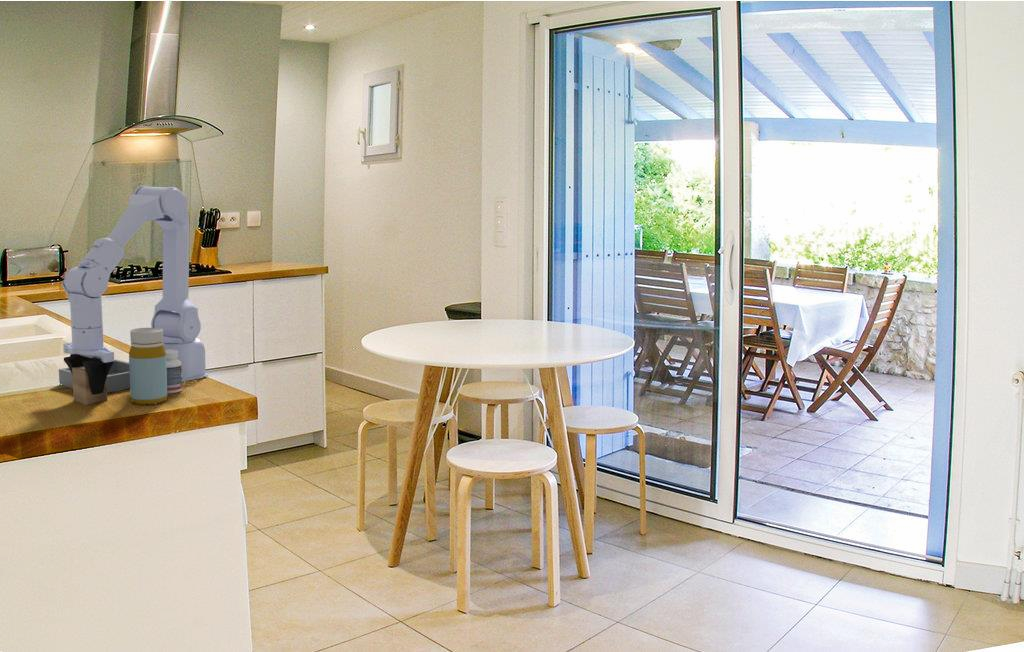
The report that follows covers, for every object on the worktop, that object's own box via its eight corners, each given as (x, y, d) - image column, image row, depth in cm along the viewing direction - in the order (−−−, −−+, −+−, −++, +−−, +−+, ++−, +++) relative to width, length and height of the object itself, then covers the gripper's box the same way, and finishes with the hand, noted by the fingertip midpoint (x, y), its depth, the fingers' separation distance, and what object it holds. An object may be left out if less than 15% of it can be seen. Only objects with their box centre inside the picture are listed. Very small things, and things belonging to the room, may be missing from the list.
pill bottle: (186, 391, 182) (185, 351, 181) (163, 395, 178) (162, 354, 177) (175, 386, 186) (174, 347, 184) (152, 390, 182) (150, 350, 180)
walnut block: (94, 396, 175) (93, 364, 174) (107, 400, 173) (105, 367, 172) (73, 400, 171) (72, 367, 170) (86, 404, 169) (85, 370, 168)
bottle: (173, 402, 173) (170, 331, 171) (138, 407, 168) (136, 334, 166) (159, 395, 178) (156, 326, 176) (125, 400, 173) (122, 329, 171)
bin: (116, 374, 195) (116, 359, 194) (153, 383, 188) (152, 368, 187) (59, 384, 183) (58, 369, 183) (96, 394, 176) (95, 378, 176)
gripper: (47, 324, 170) (51, 389, 172) (89, 333, 162) (92, 401, 165) (80, 320, 176) (83, 383, 178) (122, 329, 168) (125, 394, 171)
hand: (90, 391), depth 172 cm, fingers closed on walnut block, 4 cm apart
